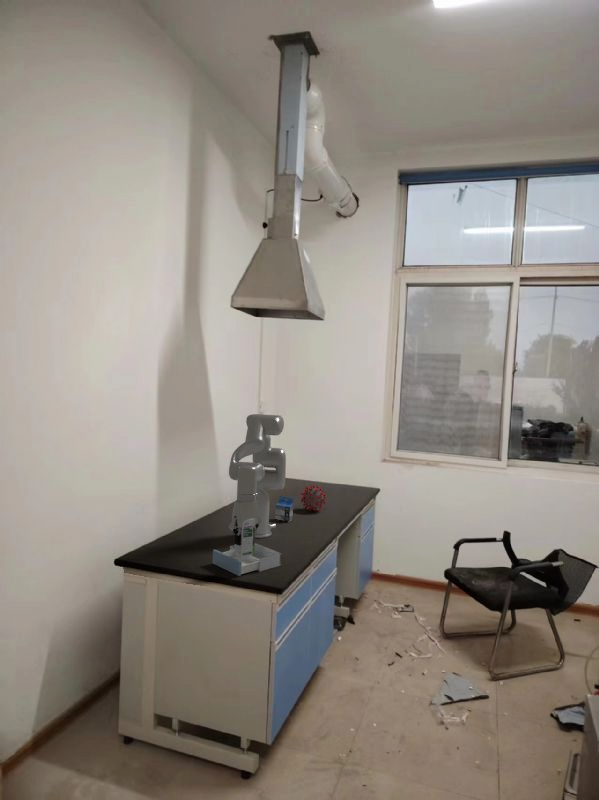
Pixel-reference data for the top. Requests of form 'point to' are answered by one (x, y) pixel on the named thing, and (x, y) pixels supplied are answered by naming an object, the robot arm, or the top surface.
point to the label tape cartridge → (284, 509)
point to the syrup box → (246, 539)
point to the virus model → (313, 498)
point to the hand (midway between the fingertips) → (244, 542)
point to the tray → (235, 562)
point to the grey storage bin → (265, 557)
